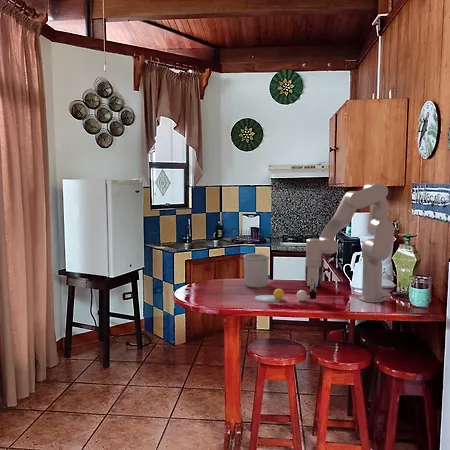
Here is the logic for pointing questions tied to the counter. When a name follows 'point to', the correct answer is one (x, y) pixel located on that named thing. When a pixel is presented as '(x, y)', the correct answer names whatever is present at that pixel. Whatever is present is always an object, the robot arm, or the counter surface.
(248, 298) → the counter surface
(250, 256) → the utensil holder
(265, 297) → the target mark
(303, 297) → the cue ball
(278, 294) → the object ball
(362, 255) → the robot arm
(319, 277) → the blue cylindrical canister
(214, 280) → the counter surface
